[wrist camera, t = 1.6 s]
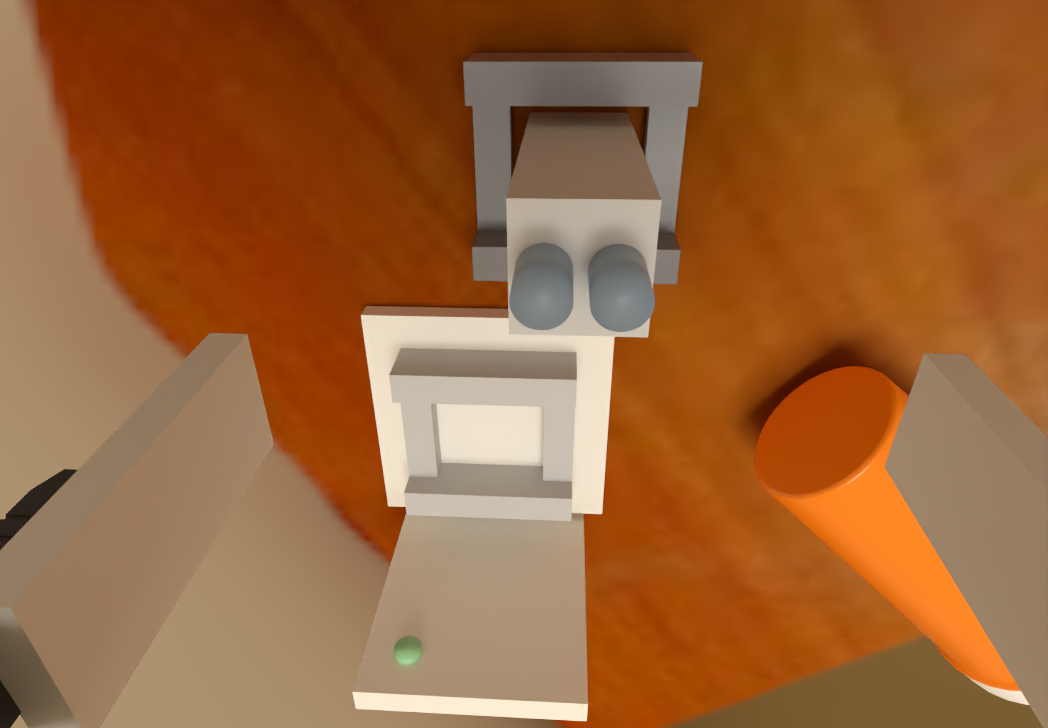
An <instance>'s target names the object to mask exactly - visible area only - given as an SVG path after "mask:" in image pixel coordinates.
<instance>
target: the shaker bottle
mask: <svg viewBox="0 0 1048 728" xmlns="http://www.w3.org/2000/svg"><path fill="white" fill-rule="evenodd" d="M908 397H909V396H908V395H907V394H906V393H905V392H904V391H903V390H902V389H900V388H899V387H898V386H897V385H896V384H895V383H893V382H892V381H891V380H890V379H889V378H888V377H886V376H885V375H884V374H883V373H880V372H878V371H876V370H874V369H872V368H867V367H862V366H847V367H842V368H837V369H833V370H830V371H827V372H824V373H821V374H819V375H817V376H815V377H813V378H811V379H809V380H808V381H806V382H805V383H803V384H802V385H800V386H799V387H797V388H796V389H795V390H794V391H792V392H791V393H790V394H789V395H788V396H787V397H785V398H784V400H783V401H782V402H781V403H780V404H779V405H778V406H777V407H776V408H775V410H774V411H773V412H772V414H771V415H770V417H769V418H768V419H767V421H766V423H765V425H764V427H763V429H762V430H761V433H760V436H759V438H758V441H757V445H756V450H755V470H756V474H757V477H758V479H759V480H760V482H761V484H762V486H763V487H764V488H765V489H766V490H767V491H768V492H769V493H770V494H771V495H772V496H773V497H774V498H776V499H777V500H778V501H779V502H780V503H781V504H782V505H783V506H784V507H785V508H787V509H788V510H789V511H790V512H791V513H792V514H793V515H794V516H795V517H796V518H798V519H799V520H800V521H801V522H802V523H803V524H804V525H805V526H806V527H807V528H809V529H810V530H811V531H812V532H813V533H814V534H815V535H816V536H817V537H818V538H820V539H821V540H822V541H823V542H824V543H825V544H826V545H827V546H828V547H829V548H831V549H832V550H833V551H834V552H835V553H836V554H837V555H838V556H839V557H841V558H842V559H843V560H844V561H845V562H846V563H847V564H848V565H849V566H850V567H852V568H853V569H854V570H855V571H856V572H857V573H858V574H859V575H860V576H861V577H863V578H864V579H865V580H866V581H867V582H868V583H869V584H870V585H871V586H872V587H874V588H875V589H876V590H877V591H878V592H879V593H880V594H881V595H882V596H883V597H885V598H886V599H887V600H888V601H889V602H890V603H891V604H892V605H893V606H894V607H896V608H897V609H898V610H899V611H900V612H901V613H902V614H903V615H904V616H905V617H907V618H908V619H909V620H910V621H911V622H912V623H913V624H914V625H915V626H916V627H918V628H919V629H920V630H921V631H922V632H923V633H924V634H925V635H926V636H927V637H929V638H930V639H931V640H932V641H933V642H934V644H935V645H936V647H937V648H938V650H939V651H940V652H941V654H942V655H943V657H944V658H945V659H946V660H947V661H949V662H950V663H951V664H952V665H953V666H954V667H955V668H956V669H957V670H959V671H960V672H962V673H963V674H965V675H966V676H967V677H969V678H970V679H971V680H972V681H973V682H975V683H976V684H978V685H979V686H981V687H982V688H984V689H985V690H987V691H988V692H990V693H992V694H994V695H997V696H999V697H1001V698H1004V699H1006V700H1009V701H1013V702H1018V703H1022V704H1026V705H1029V703H1028V702H1027V700H1026V698H1025V697H1024V695H1023V694H1022V692H1021V690H1020V689H1019V687H1018V685H1017V684H1016V682H1015V680H1014V679H1013V677H1012V675H1011V674H1010V672H1009V671H1008V669H1007V667H1006V666H1005V664H1004V662H1003V661H1002V659H1001V657H1000V656H999V654H998V653H997V651H996V649H995V648H994V646H993V644H992V643H991V641H990V639H989V638H988V636H987V634H986V633H985V631H984V630H983V628H982V626H981V625H980V623H979V621H978V620H977V618H976V616H975V615H974V613H973V612H972V610H971V608H970V607H969V605H968V603H967V602H966V600H965V598H964V597H963V595H962V593H961V592H960V590H959V589H958V587H957V585H956V584H955V582H954V580H953V579H952V577H951V575H950V574H949V572H948V571H947V569H946V567H945V566H944V564H943V562H942V561H941V559H940V557H939V556H938V554H937V552H936V551H935V549H934V548H933V546H932V544H931V543H930V541H929V539H928V538H927V536H926V534H925V533H924V531H923V530H922V528H921V526H920V525H919V523H918V521H917V520H916V518H915V516H914V515H913V513H912V511H911V510H910V508H909V507H908V505H907V503H906V502H905V500H904V498H903V497H902V495H901V493H900V492H899V490H898V489H897V487H896V485H895V484H894V482H893V480H892V479H891V477H890V475H889V474H888V472H887V470H886V469H885V467H884V466H885V463H886V460H887V457H888V454H889V452H890V449H891V446H892V443H893V440H894V437H895V434H896V432H897V429H898V426H899V423H900V420H901V417H902V414H903V412H904V409H905V406H906V403H907V400H908Z"/></svg>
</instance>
